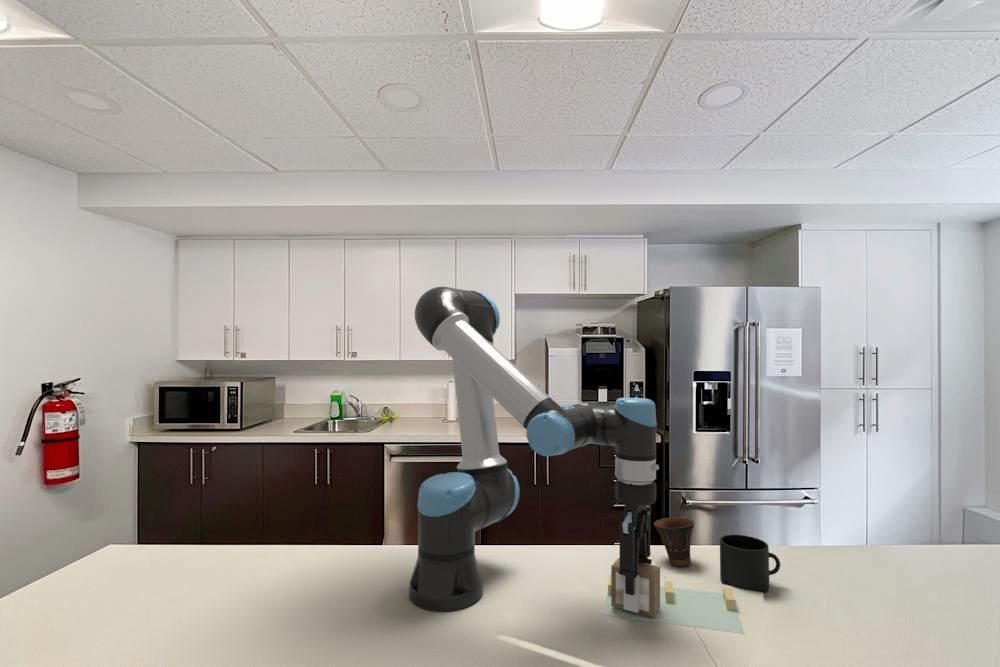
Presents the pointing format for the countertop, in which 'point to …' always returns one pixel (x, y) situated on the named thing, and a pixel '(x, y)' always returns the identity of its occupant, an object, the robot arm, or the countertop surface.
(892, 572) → the countertop surface
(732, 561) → the mug
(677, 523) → the cup
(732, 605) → the wall board
